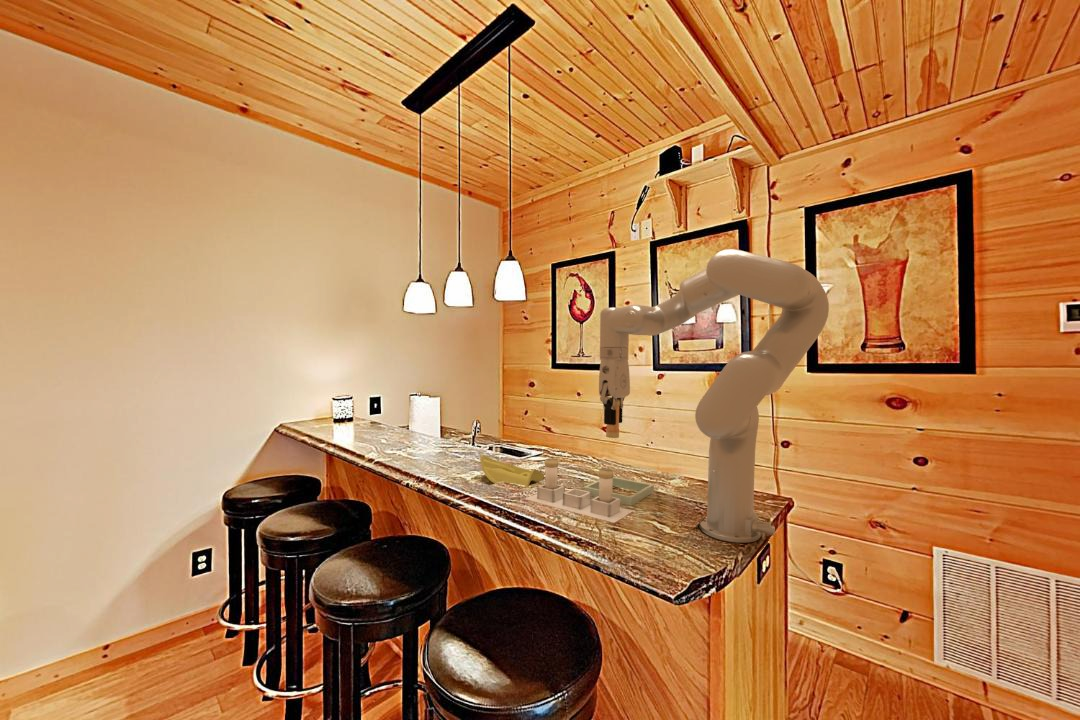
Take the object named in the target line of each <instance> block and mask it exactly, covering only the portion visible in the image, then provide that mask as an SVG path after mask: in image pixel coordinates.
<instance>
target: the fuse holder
mask: <svg viewBox="0 0 1080 720" xmlns="http://www.w3.org/2000/svg"><path fill="white" fill-rule="evenodd" d="M536 489H537V490H536V493H535V494H532V495H530V496H528V497H525V498H524V500H526V501H529V502H533V503H538V504H542V505H544V506H549V507H551V508H557V509H560V510H564V511H568V512H570V513H571V512H572V513H576V514H578V515H583V516H585V517H586V516H587V517H591V518H594V519H598V520H602V521H605V522H610V523H611V524H612V523H613V524H615V523H616V522H618V521H620V520H621V519H623V518H624V517H626V516H628V515H629V514H631V513H632V512H634V510H632V509H628V508H624V507H621V503H620V499H619V498H614V497H612V502H610V503H606V502H602V501H599V496H597V497H592V496H591V493H592V492H588V491H584V490H583V489H580V488H572V489H570V490H567V491H566V486H565V485H562V484H557V489H554V490H551V489H547V488H545V483H543V484H541V485H539V486H537V487H536Z"/></svg>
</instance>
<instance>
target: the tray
mask: <svg viewBox="0 0 1080 720" xmlns="http://www.w3.org/2000/svg"><path fill="white" fill-rule="evenodd" d="M613 487H615V488H620V489H625V490H630V491H634V492H635V491H636V492H635V493H633V494H631V495H626V494H621V493H618V492H613V491H612V497H614V498H619V499H620V505H621V504H622V505H627V506H630V507H631V506H634V505H635V504H637V503H638V502H640V501H642V500H644V499H645V498H647V497H648V496H650V495H654V493H655V492H654V491H655V490H654V489H655V485H654V484H651V483H645V482H642V481H641V482H640V481H635V480H630V479H626V478H622V477H616V476H613ZM582 490H584V491H588V492H592V493H591V498H595V497H597V496H599V479H598V480H596V481H593V482H591V483H589V484H587V485H584V486H583V489H582Z"/></svg>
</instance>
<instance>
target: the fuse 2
mask: <svg viewBox="0 0 1080 720" xmlns="http://www.w3.org/2000/svg"><path fill="white" fill-rule="evenodd" d="M613 477H614V469H611V468H600V469H599V470H598V480H599V501H602V502H606V503H610V502H612V492H613V487H614V486H613Z"/></svg>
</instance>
